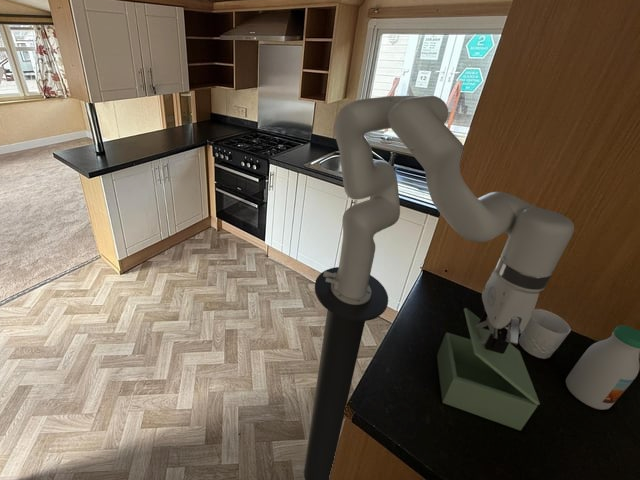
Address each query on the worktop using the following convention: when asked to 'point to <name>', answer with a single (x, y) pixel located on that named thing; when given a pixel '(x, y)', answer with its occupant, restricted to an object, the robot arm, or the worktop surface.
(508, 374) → the lid
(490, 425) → the worktop surface
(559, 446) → the worktop surface
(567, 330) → the white cup
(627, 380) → the milk bottle
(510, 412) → the chest
